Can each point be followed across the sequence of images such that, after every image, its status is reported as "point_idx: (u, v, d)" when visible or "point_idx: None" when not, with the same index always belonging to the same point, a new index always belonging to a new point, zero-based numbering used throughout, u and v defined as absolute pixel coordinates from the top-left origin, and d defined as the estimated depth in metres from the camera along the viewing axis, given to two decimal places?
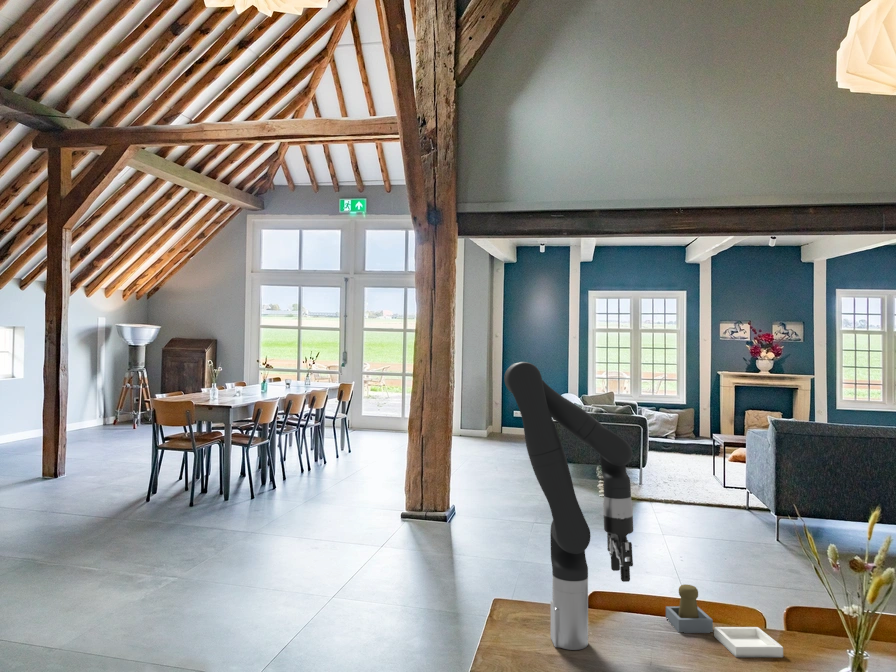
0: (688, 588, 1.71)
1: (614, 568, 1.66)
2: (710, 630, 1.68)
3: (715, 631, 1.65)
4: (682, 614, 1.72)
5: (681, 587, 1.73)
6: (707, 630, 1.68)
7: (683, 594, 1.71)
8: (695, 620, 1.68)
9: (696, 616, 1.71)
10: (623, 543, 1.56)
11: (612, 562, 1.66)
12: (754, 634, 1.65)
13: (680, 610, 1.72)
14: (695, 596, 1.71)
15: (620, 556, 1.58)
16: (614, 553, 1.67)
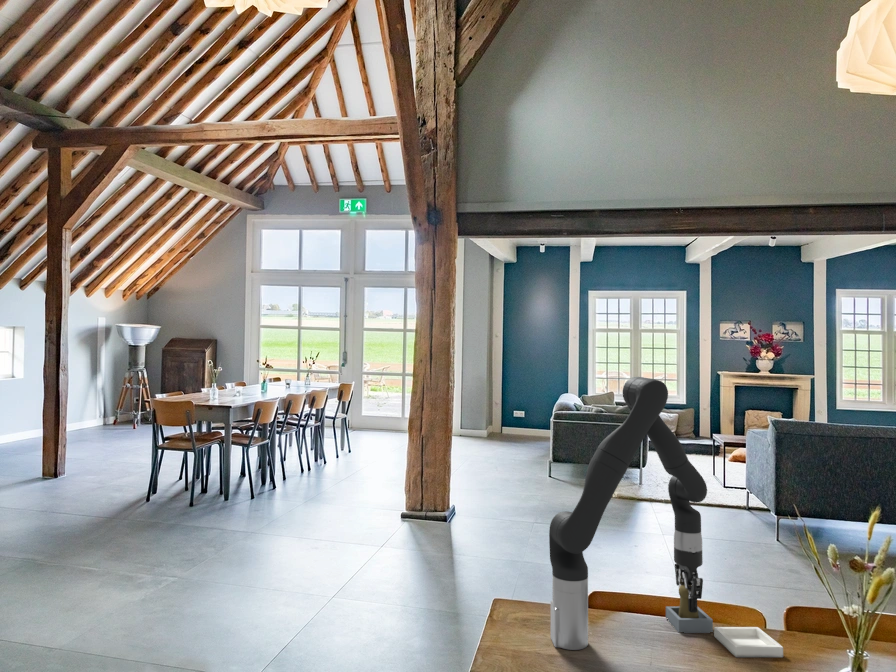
0: None
1: None
2: (710, 630, 1.68)
3: (715, 631, 1.65)
4: (682, 614, 1.72)
5: (681, 587, 1.73)
6: (707, 630, 1.68)
7: (683, 594, 1.72)
8: (695, 620, 1.68)
9: (696, 616, 1.71)
10: (695, 579, 1.67)
11: None
12: (754, 634, 1.65)
13: (680, 610, 1.72)
14: None
15: (689, 589, 1.70)
16: None
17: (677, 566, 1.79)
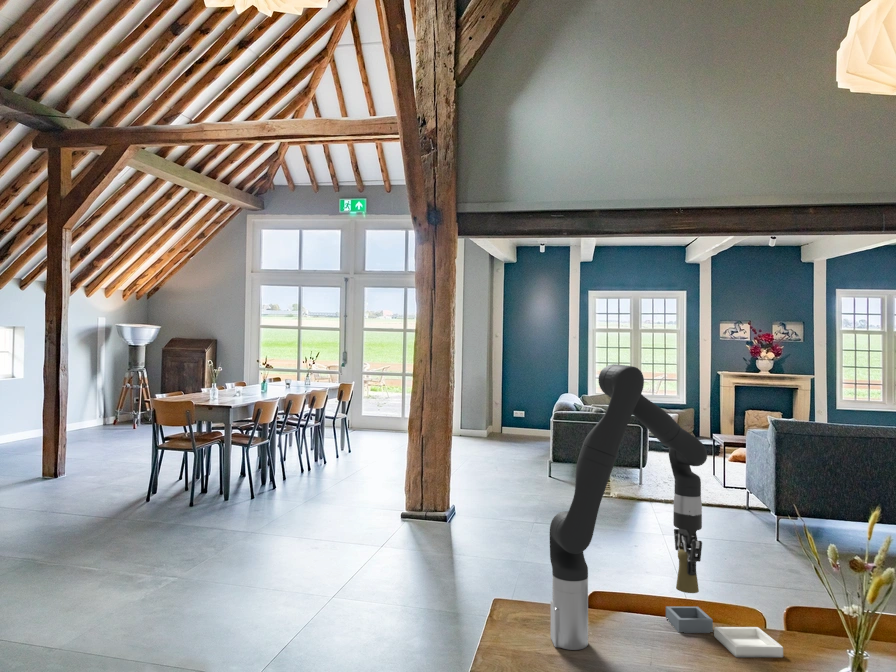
0: None
1: None
2: (710, 630, 1.68)
3: (715, 631, 1.65)
4: (681, 577, 1.72)
5: (680, 551, 1.74)
6: (707, 630, 1.68)
7: (682, 557, 1.72)
8: (695, 620, 1.68)
9: (695, 579, 1.71)
10: (694, 542, 1.67)
11: None
12: (754, 634, 1.65)
13: (679, 574, 1.73)
14: None
15: (688, 552, 1.71)
16: None
17: (676, 531, 1.80)
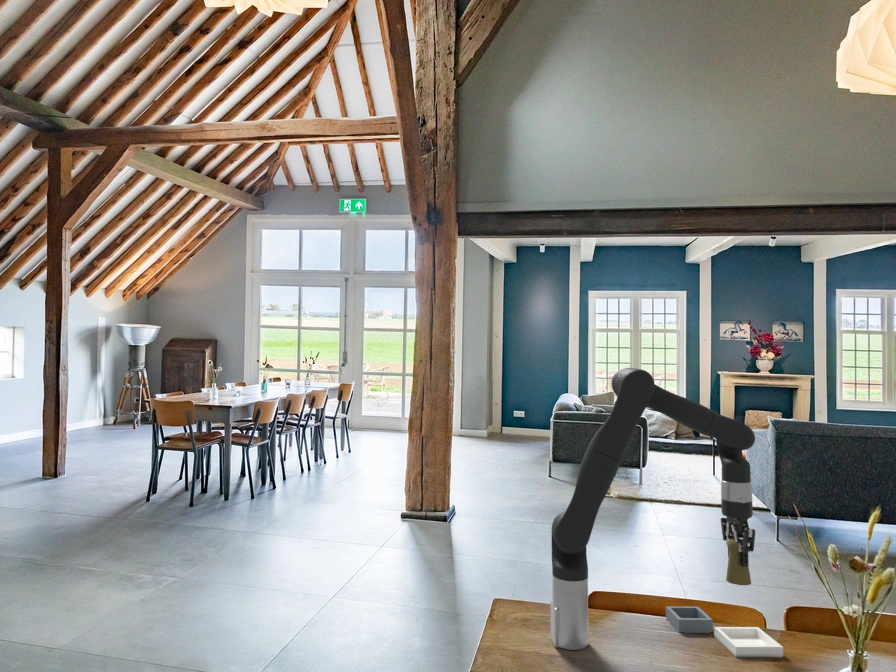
0: None
1: None
2: (710, 630, 1.68)
3: (715, 631, 1.65)
4: (732, 569, 1.62)
5: (730, 541, 1.63)
6: (707, 630, 1.68)
7: (732, 547, 1.62)
8: (695, 620, 1.68)
9: (747, 570, 1.61)
10: (747, 531, 1.57)
11: None
12: (754, 634, 1.65)
13: (729, 565, 1.63)
14: None
15: (740, 541, 1.60)
16: None
17: (723, 520, 1.69)
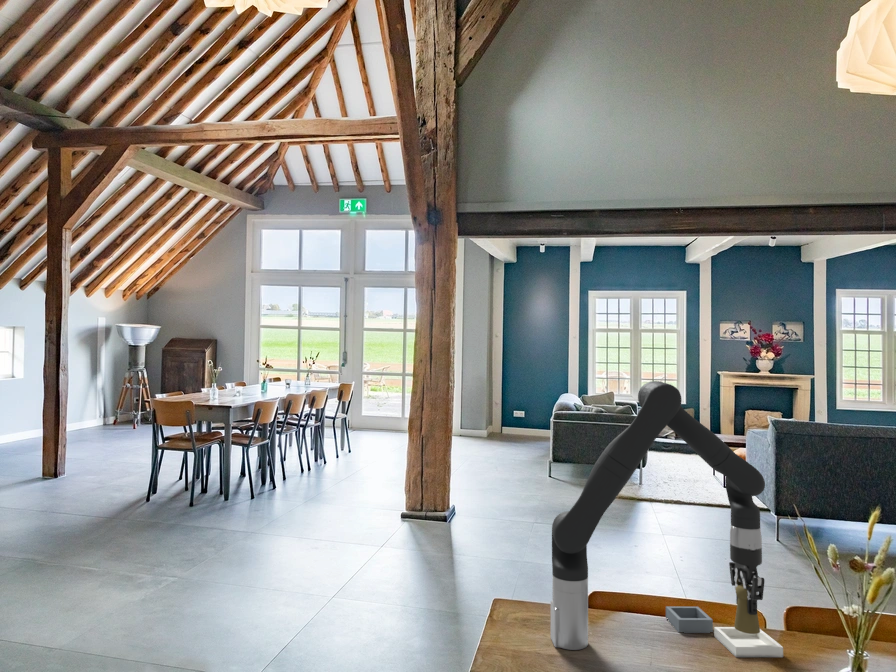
0: None
1: None
2: (710, 630, 1.68)
3: (715, 631, 1.65)
4: (740, 616, 1.59)
5: (739, 587, 1.60)
6: (707, 630, 1.68)
7: (741, 595, 1.59)
8: (695, 620, 1.68)
9: (756, 618, 1.58)
10: (756, 579, 1.54)
11: None
12: (754, 634, 1.65)
13: (738, 612, 1.60)
14: None
15: (748, 589, 1.57)
16: None
17: (732, 565, 1.66)
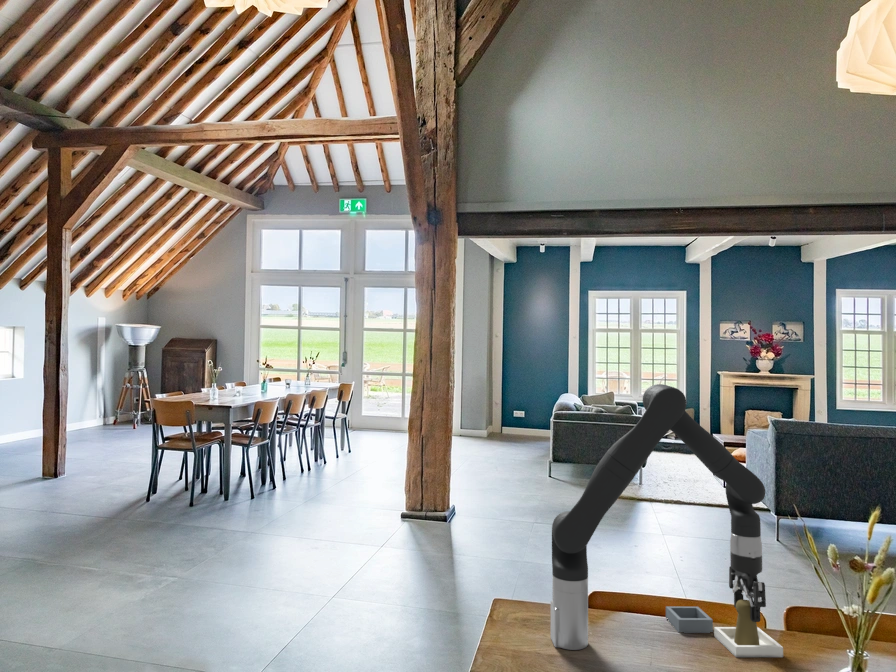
0: (747, 604, 1.59)
1: None
2: (710, 630, 1.68)
3: (715, 631, 1.65)
4: (740, 632, 1.59)
5: (739, 602, 1.60)
6: (707, 630, 1.68)
7: (741, 610, 1.59)
8: (695, 620, 1.68)
9: (756, 634, 1.58)
10: (756, 583, 1.54)
11: (736, 600, 1.64)
12: None
13: (738, 627, 1.60)
14: None
15: (750, 596, 1.57)
16: (738, 591, 1.65)
17: (732, 569, 1.66)
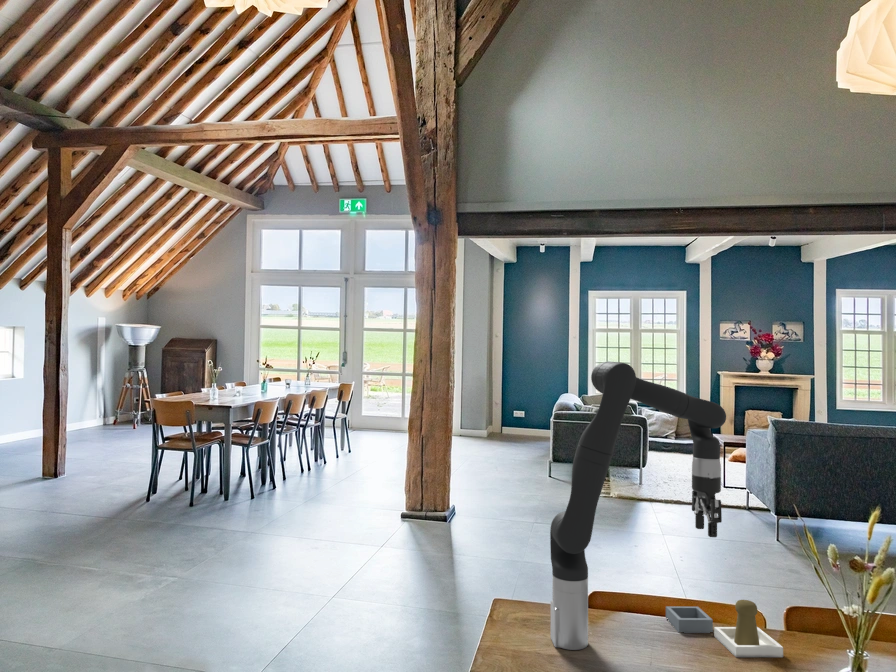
0: (747, 604, 1.59)
1: (698, 526, 1.75)
2: (710, 630, 1.68)
3: (715, 631, 1.65)
4: (740, 632, 1.59)
5: (738, 603, 1.60)
6: (707, 630, 1.68)
7: (741, 610, 1.59)
8: (695, 620, 1.68)
9: (756, 634, 1.58)
10: (713, 500, 1.65)
11: (697, 521, 1.75)
12: None
13: (738, 628, 1.60)
14: (754, 613, 1.58)
15: (708, 513, 1.67)
16: (699, 512, 1.75)
17: (695, 493, 1.77)
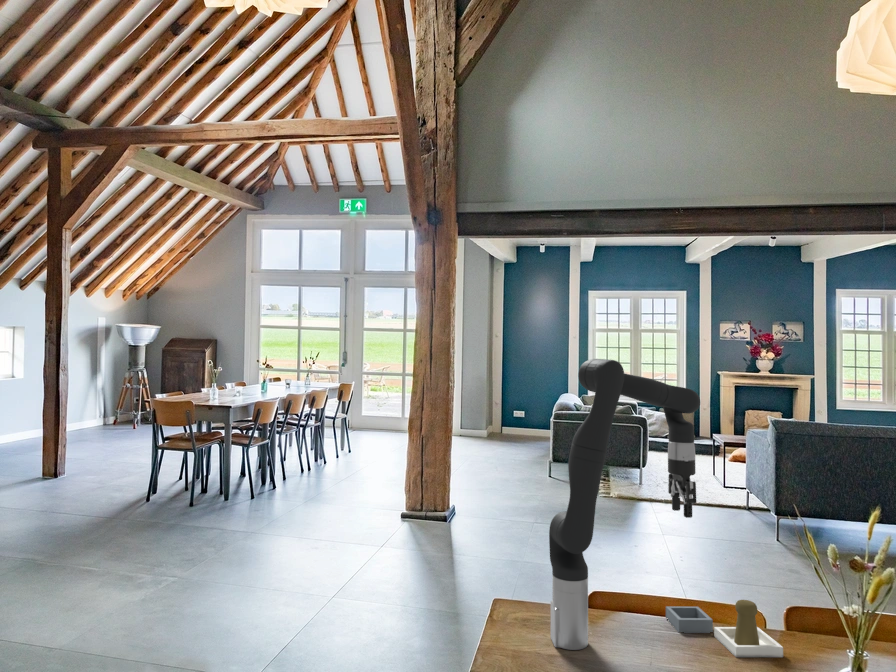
0: (747, 604, 1.59)
1: (675, 508, 1.82)
2: (710, 630, 1.68)
3: (715, 631, 1.65)
4: (740, 632, 1.59)
5: (738, 603, 1.60)
6: (707, 630, 1.68)
7: (741, 610, 1.59)
8: (695, 620, 1.68)
9: (756, 634, 1.58)
10: (688, 482, 1.72)
11: (673, 503, 1.82)
12: None
13: (738, 628, 1.60)
14: (754, 613, 1.58)
15: (684, 494, 1.74)
16: (675, 495, 1.83)
17: (671, 476, 1.84)
